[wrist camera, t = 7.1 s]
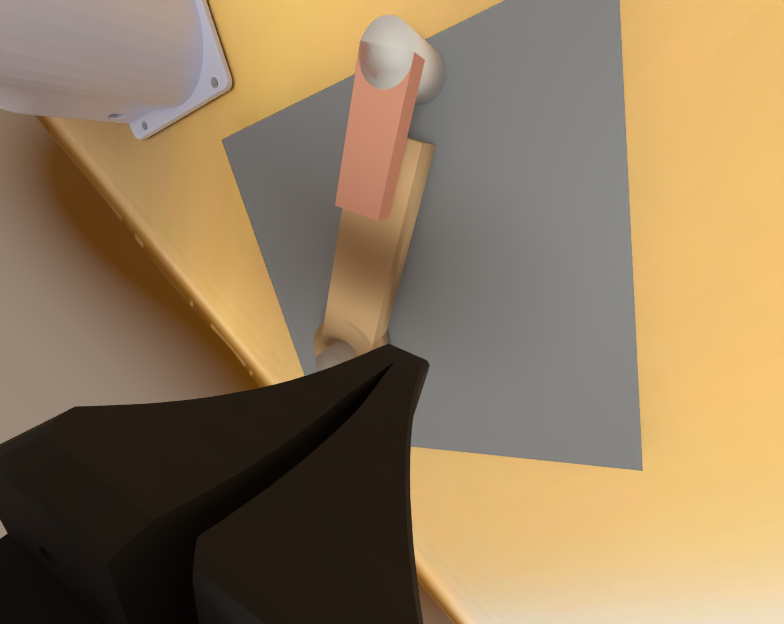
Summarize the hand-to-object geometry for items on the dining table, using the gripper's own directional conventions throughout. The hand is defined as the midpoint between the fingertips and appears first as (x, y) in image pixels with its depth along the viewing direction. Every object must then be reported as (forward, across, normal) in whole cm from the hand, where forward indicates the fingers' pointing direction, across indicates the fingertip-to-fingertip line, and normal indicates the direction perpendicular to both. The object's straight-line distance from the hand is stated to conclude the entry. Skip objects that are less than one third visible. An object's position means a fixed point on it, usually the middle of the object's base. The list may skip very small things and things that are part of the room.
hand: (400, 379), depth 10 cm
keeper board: (+9, +3, +1) cm, 10 cm away
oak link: (+8, +5, +1) cm, 9 cm away
